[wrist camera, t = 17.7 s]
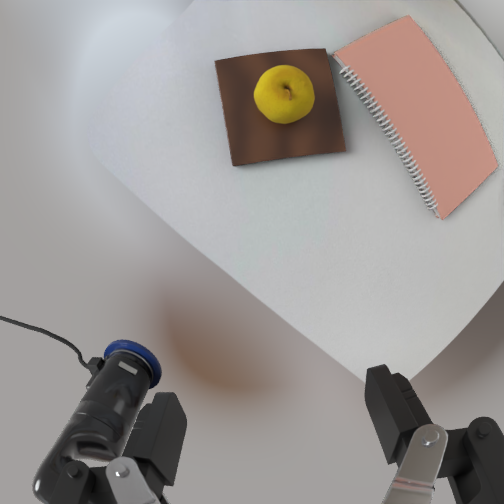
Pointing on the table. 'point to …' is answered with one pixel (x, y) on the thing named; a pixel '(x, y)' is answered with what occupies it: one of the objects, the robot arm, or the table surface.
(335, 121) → the cutting board
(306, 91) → the apple
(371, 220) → the table surface
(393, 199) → the table surface
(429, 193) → the notebook
